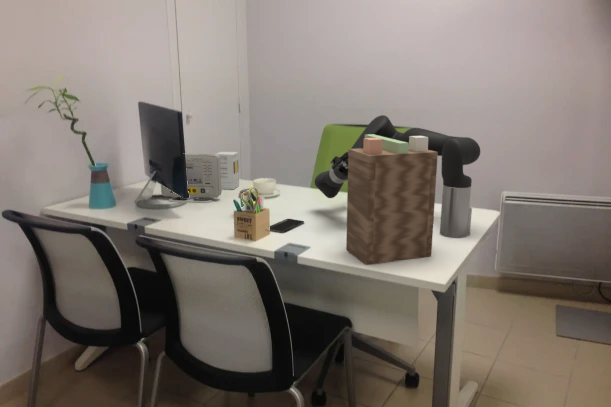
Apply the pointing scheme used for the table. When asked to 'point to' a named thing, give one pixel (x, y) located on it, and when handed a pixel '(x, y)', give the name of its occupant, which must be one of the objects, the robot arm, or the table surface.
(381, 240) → the walnut stand
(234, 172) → the supplement box
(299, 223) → the phone
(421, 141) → the grey block
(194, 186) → the network device
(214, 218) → the table surface
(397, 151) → the sage green bar
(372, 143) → the terracotta block
